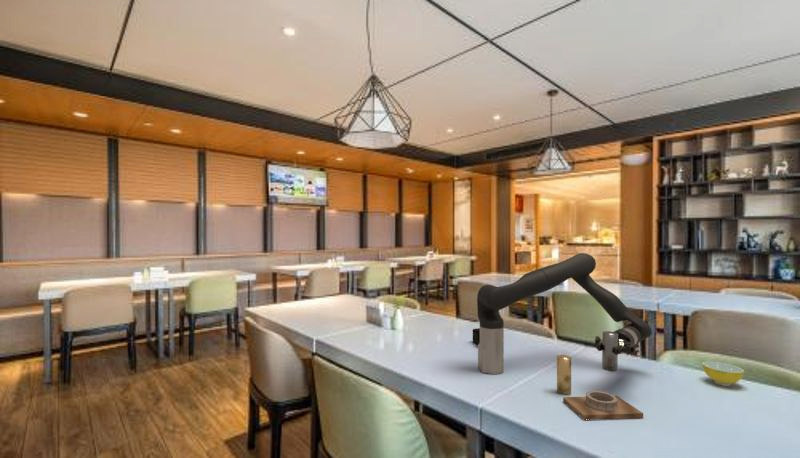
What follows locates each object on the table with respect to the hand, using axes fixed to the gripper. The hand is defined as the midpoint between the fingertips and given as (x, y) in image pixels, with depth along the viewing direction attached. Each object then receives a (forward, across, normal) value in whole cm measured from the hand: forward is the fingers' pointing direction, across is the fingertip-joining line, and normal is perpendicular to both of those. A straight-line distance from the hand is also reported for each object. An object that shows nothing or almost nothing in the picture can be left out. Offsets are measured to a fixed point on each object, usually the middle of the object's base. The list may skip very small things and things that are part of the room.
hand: (607, 349), depth 124 cm
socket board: (+10, +1, +16) cm, 19 cm away
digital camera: (-20, -61, +17) cm, 67 cm away
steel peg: (-3, 0, +7) cm, 7 cm away
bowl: (-44, +25, +16) cm, 53 cm away
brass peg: (+5, -12, +16) cm, 21 cm away
